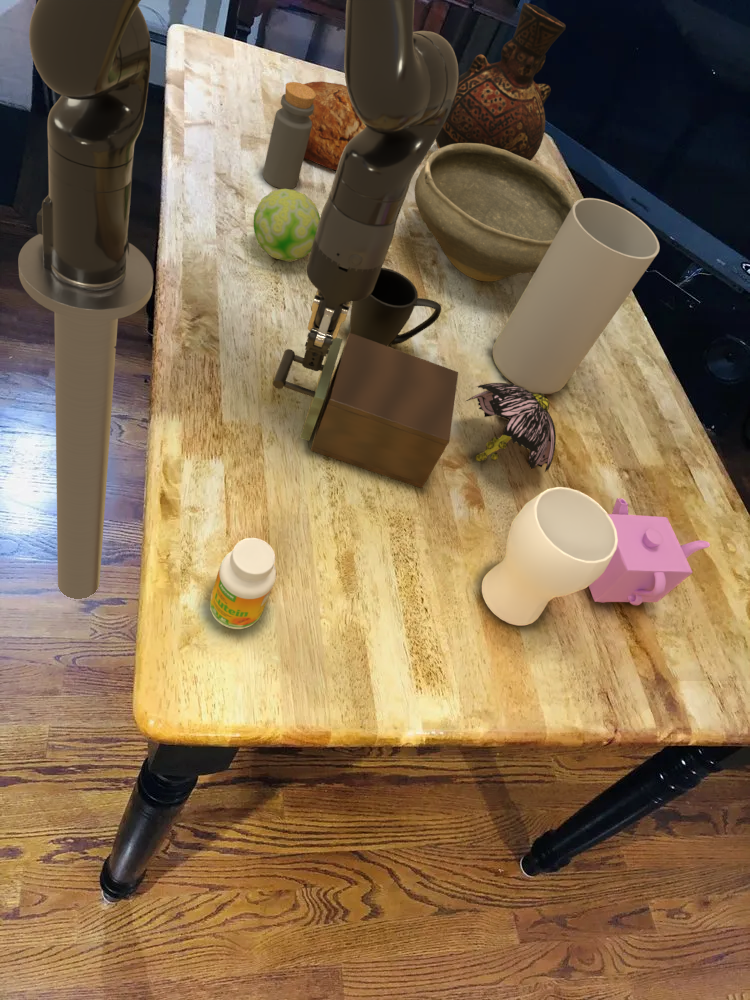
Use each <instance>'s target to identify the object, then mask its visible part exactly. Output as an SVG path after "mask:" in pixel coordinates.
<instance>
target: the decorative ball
mask: <svg viewBox="0 0 750 1000" xmlns="http://www.w3.org/2000/svg"><path fill="white" fill-rule="evenodd" d="M320 217H321V215H320V213H319V210H318V208H317V205H316V204H315V202H313V201H312V200H311V199H310V197H309V196H308V195H307V194H305V193H304V192H303V193H302V192H300V191H298V190H295V189H281V188H278V189H276V190H273V191H271V192H269V193H268V194H267V195H265V196H263V197H262V198H261V200H260V202H259V203H258V205H257V207H256V209H255V212H254V214H253V232H254V236H255V239H256V242H257V243H258V245H259V247H260V248H261V249H262V250H263V251H265V252H266V253H267V254H268V255H269V256H270V257H272V258H274V259H276V260H281V261H285V262H294V261H297V260H301V259H303V258H304V257H306V256H307V255H309V254H310V252H311V249H312V245H313V241H314V238H315V234H316V231H317V227H318V224H319V220H320Z"/></svg>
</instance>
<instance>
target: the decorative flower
mask: <svg viewBox="0 0 750 1000" xmlns="http://www.w3.org/2000/svg"><path fill="white" fill-rule="evenodd" d="M475 388H477V389H482V390H485V391H482V392H479V393H478V394H475V395H473V396H471V397H470V398H468V399H466V400H465V402H469V401H471V400H474V399H475V400H477V402H478V403H477V405H478V406H479V408H478V409H479V410H481V411H483V414H484V418H487V417H493V416H497V417H500V418H501V419H502V418H503V419H506V420H508V421H507V422H506V424H505V426H504V429H503V431H502V435H501V436H500V437H498V436H494V437H492V438H491V440H488V441H487V442H486V444H485V447H486V449H485V450H484V452H480V453H478V454H476V455H475V458H474V459H475V461H476V462H477V463H481V462H484V461H486V460H487V459H488V456H489V455H490V459H491V461H495V462H496V461H498V459H499V457H500V454H499V453H498V452H497V451H499V450H506V449H507V447H508V443H509V442H510V441H512V443H513V444H515V443H516V444H517V445H518V446H519V447H521V446H522V447H524V448H525V449H526V450H528V451H529V453H528V454H529V457H528V460H527V463H528V466H529V469H530V470H534V469H535V468H536V467H539V468H542V467H543V466H544V465H545V464H546V466H545V469H544V473H546V472H548V471H549V470H550V467H551V465H552V462H553V460H554V455H555V452H556V451H555V450H556V443H557V442H556V441H557V438H556V437H557V435H556V428H555V423H554V421H553V418H552V416H551V414H550V413H549V409H550V400H549V399H548V397H547V396H546V395H545V394H541V393H533V392H529V391H528V390H526V389H524V388H522V387H519V386H516V385H515V384H513V383H508V382H507V383H505V382H491V383H490V382H489V383H485V384H480V385H477V386H475Z"/></svg>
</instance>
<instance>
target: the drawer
mask: <svg viewBox="0 0 750 1000" xmlns="http://www.w3.org/2000/svg"><path fill="white" fill-rule="evenodd" d="M332 341H333V342H332V345H330V348H329V352H328V354H326V357H325V358H324V360H323V361H324V362H323V363H322V365H321V368H320V370H319V371H320V373H319V376H318V379H317V382H316V385H315V388H314V390H313V389H311V388H307V387H304V386H301V385H299V384H295V383H293V382H290V381H288V380H287V379H288V377H289V374H290V371H291V369H292V365H293V362H294V363H298V364H300V365H302V362H303V359H304V357H303V356H300V355H297V354H296V353H295V351H294V350H293V349H290V348H287V349H285V350H284V351H283V354H282V357H281V359H280V362H279V365H278V366H277V367H278V368H277V369H276V373H275V376H274V377H273V378H274V379H273V380H272V386H273V387H274V388H275V389H276V390H282V389H283V388H285V389H288V390H290V391H294V392H296V393H299V394H301V395H305V396H308V397H310V398H311V400H310V404H309V407H308V410H307V414H306V417H305V420H304V424H303V427H302V429H301V433H300V436H299V438H300V439H302V440H306V441H308V442H309V441H310V440H311V438H312V435H313V433H314V429H315V427H316V424H317V421H318V419H319V416H320V415H321V412H322V409H323V406H324V403H325V400H326V396H327V393H328V389H329V386H330V383H331V380H332V378H333V374H334V371H335V368H336V363H337V360H338V356H339V353H340V350H341V346H342V343H343V338H340V337H338V336H337V338H336V339H332Z"/></svg>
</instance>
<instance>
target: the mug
mask: <svg viewBox="0 0 750 1000" xmlns="http://www.w3.org/2000/svg"><path fill="white" fill-rule="evenodd" d="M415 307H425V308H431V309H433V310H434V311H433V313H432V314H431V315H430V316H429V317H428V318H426V319H425V320H424V321H422V322H421V323H420V324H418V325H416V326H415V327H413V328H412V329H409V330H407V331H406V332H403V333H401V331H402V330H403V328H404V327H405V326H406V324H407V322H409V319H410V317H411V316H412V313H413V311H414V309H415ZM441 312H442V305H441V304H440V303H439V302H437V301H435V300H431V299H428V298H421V297H419V294H418V290H417V288H416V286H415V285H414V283H413V282H412V281H411V280H410V279H409V278H408V277H407V276H405V275H403V274H402V273H400V272H398V271H397V270H393V269H390V268H387V267H382V268H381V271H380V273H379V276H378V279H377V281H376V284H375V287H374V289H373V291H372V293H371V294H370V295H369V296H368V297H366V298H365V299H362V300H359V301H351V307H350V317H349V318H350V320H349V321H350V322H349V325H350V326H349V327H350V328H349V333H352V334H355V335H358V336H361V337H363V338H366V339H369V340H372V341H374V342H377V343H380V344H383V345H385V346H388V347H389V345H392V346H393V345H399V344H402V343H404V342H406V341H408V340H409V339H411V338H413V337H415V336H416V335H418V334H419V333H421V332H423V331H424V330H427V328H429V327H430V326H432V325H433V324H434V323H435V322H436V321H437V320H438V319H439V317H440V316H441Z"/></svg>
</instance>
